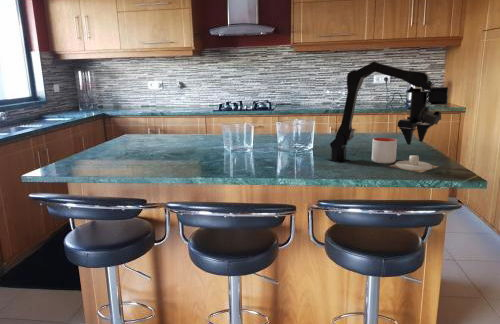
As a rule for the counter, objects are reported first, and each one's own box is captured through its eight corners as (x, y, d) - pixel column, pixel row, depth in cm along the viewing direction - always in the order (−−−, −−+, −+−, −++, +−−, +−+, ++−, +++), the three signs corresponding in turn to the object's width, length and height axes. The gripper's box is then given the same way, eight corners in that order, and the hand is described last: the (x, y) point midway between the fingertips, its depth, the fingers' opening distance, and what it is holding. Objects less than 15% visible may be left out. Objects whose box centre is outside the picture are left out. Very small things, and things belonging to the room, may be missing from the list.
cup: (369, 163, 169) (370, 140, 167) (373, 158, 178) (375, 136, 175) (393, 165, 165) (395, 142, 162) (397, 160, 173) (398, 138, 171)
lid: (420, 172, 151) (421, 161, 150) (388, 166, 161) (389, 156, 160) (438, 166, 159) (439, 156, 158) (406, 160, 170) (407, 151, 169)
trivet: (420, 174, 151) (420, 172, 151) (388, 167, 162) (388, 166, 161) (438, 168, 159) (438, 166, 159) (406, 162, 170) (406, 160, 170)
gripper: (425, 107, 142) (422, 149, 146) (450, 104, 154) (446, 142, 157) (398, 105, 151) (395, 145, 155) (423, 102, 162) (419, 139, 166)
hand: (415, 143), depth 158 cm, fingers open, 9 cm apart
